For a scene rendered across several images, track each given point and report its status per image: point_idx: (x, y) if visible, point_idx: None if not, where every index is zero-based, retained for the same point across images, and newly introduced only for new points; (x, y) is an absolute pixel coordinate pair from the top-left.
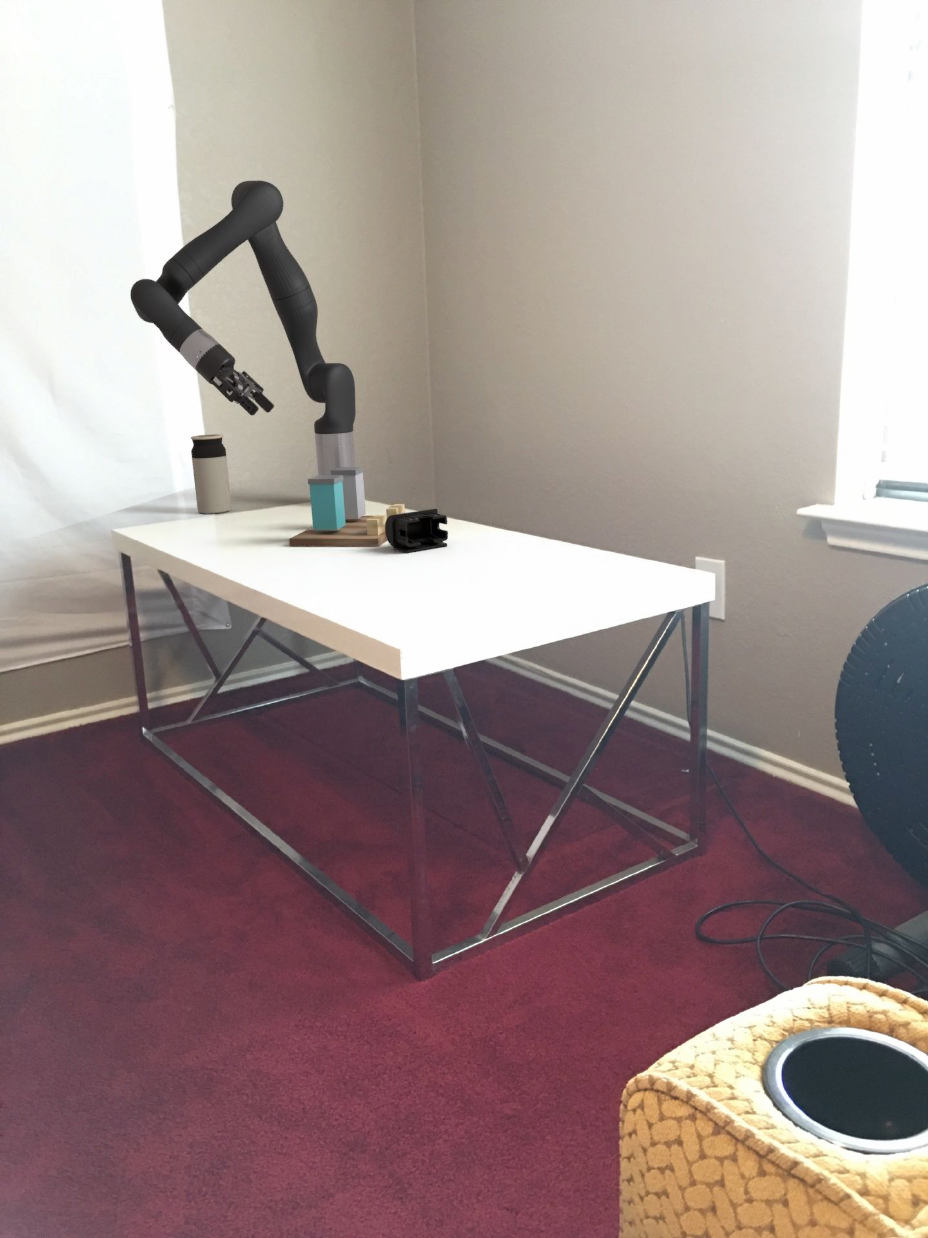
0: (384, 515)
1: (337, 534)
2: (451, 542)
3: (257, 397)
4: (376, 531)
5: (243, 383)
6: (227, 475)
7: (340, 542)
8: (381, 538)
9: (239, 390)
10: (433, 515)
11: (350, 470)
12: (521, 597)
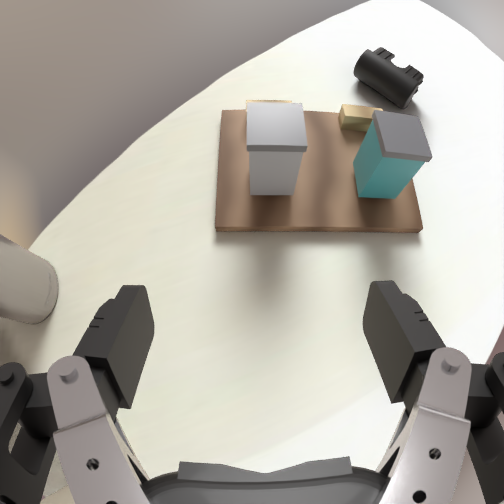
0: (349, 105)
1: None
2: (351, 68)
3: (113, 393)
4: None
5: (235, 502)
6: (57, 497)
7: None
8: None
9: (468, 388)
10: (391, 54)
11: (302, 111)
12: (478, 52)
